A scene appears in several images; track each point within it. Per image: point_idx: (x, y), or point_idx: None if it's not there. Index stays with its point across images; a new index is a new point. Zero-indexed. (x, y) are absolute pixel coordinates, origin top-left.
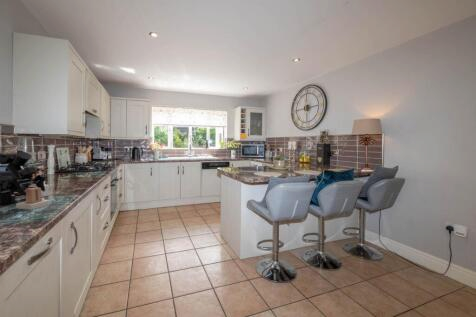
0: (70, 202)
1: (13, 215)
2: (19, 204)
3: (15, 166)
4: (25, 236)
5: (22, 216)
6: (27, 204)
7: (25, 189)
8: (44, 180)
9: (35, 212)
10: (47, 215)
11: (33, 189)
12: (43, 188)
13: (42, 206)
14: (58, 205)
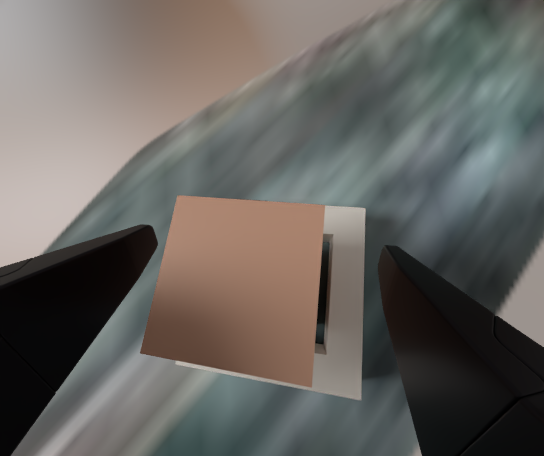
0: (167, 139)
1: (495, 209)
2: (360, 349)
3: None
4: None
5: (486, 134)
6: (356, 255)
7: (311, 375)
8: None
9: (395, 139)
10: (420, 33)
11: (296, 203)
12: (126, 235)
13: None
14: (236, 147)
